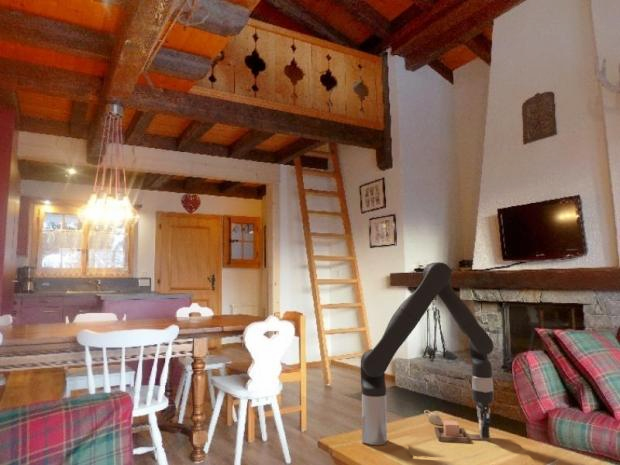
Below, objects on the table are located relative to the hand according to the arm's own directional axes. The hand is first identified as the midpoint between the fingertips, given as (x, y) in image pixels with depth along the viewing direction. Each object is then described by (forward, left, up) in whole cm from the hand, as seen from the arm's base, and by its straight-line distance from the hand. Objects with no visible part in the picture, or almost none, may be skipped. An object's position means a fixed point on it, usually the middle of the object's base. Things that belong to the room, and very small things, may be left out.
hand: (484, 435), depth 163 cm
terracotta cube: (-12, 0, -1) cm, 12 cm away
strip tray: (-8, 0, -2) cm, 8 cm away
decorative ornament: (-16, +16, -2) cm, 23 cm away
